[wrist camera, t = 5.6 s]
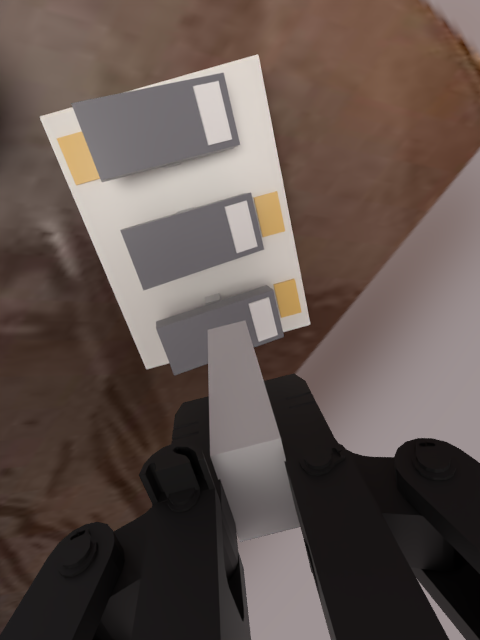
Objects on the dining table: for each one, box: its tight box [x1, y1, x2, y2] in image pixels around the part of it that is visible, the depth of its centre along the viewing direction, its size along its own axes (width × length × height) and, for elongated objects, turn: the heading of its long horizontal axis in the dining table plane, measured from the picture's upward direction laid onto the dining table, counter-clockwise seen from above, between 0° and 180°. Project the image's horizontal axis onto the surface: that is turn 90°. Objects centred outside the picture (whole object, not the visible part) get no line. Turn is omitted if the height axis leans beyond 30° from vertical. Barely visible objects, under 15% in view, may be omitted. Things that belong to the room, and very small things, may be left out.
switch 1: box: [71, 73, 240, 182], centre depth 21 cm, size 9×4×2 cm, turn 105°
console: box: [40, 55, 310, 369], centre depth 27 cm, size 15×20×6 cm
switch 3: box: [156, 285, 284, 375], centre depth 26 cm, size 9×4×2 cm, turn 105°
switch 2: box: [120, 193, 264, 291], centre depth 24 cm, size 9×4×2 cm, turn 105°
